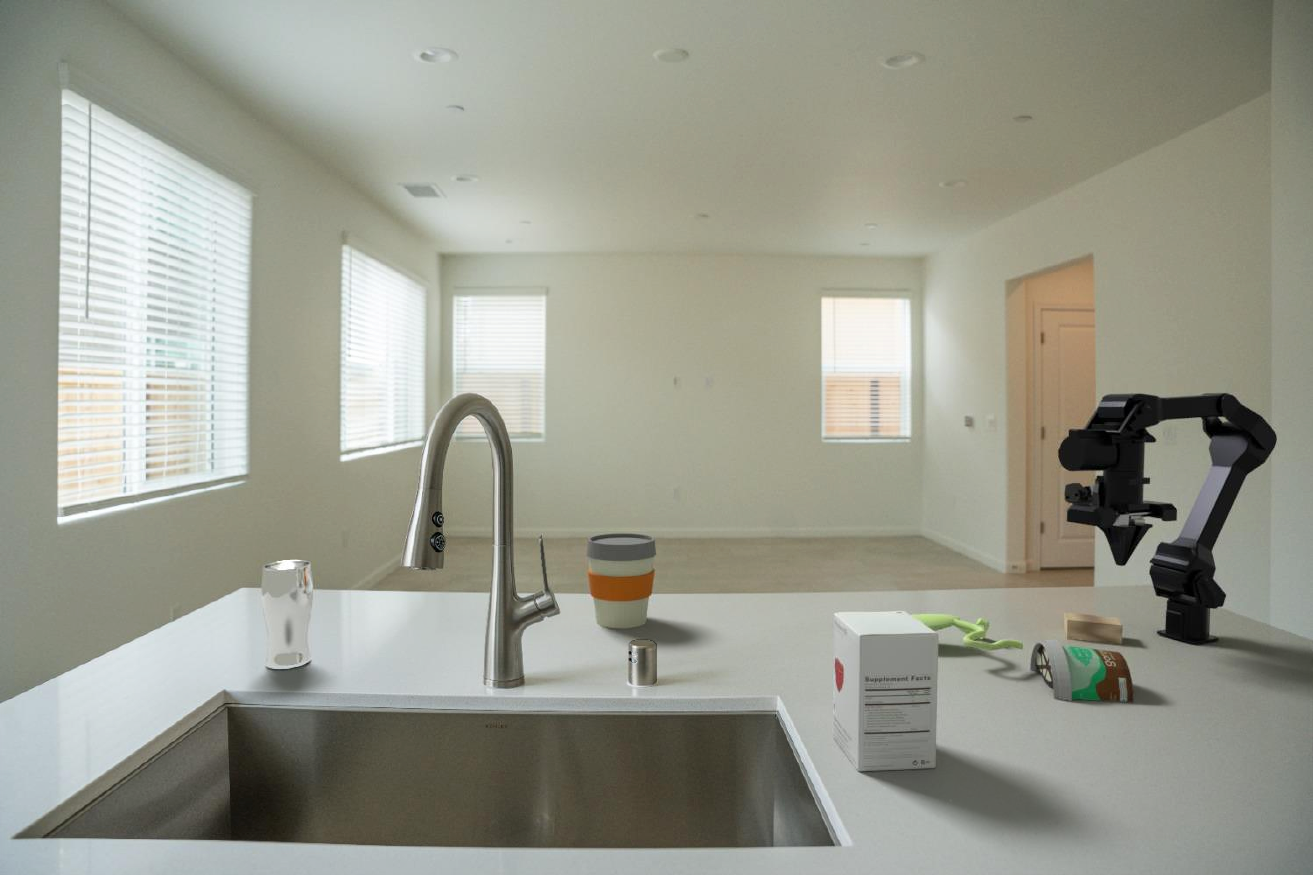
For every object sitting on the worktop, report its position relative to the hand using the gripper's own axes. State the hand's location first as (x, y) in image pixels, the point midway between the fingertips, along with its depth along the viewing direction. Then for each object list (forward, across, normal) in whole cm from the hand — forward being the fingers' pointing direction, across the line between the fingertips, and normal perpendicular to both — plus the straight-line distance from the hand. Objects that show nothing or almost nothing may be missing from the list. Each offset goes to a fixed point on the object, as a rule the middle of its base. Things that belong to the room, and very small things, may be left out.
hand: (1120, 565), depth 125 cm
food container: (+10, +19, +14) cm, 26 cm away
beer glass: (+13, +126, -39) cm, 133 cm away
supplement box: (+13, +62, +18) cm, 66 cm away
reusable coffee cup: (+13, +72, -42) cm, 84 cm away
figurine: (+14, +31, -9) cm, 35 cm away
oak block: (+13, +1, -4) cm, 14 cm away
